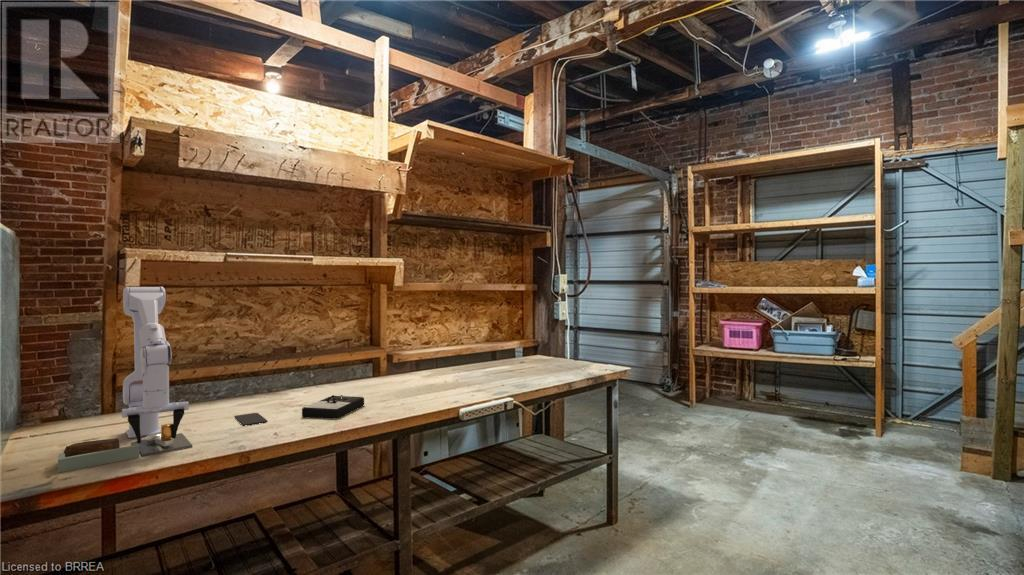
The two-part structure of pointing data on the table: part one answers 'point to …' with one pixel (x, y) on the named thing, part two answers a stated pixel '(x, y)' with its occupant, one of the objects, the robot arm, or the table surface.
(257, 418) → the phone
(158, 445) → the plate
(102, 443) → the brick
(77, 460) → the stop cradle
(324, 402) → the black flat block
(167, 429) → the crank
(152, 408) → the robot arm
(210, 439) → the table surface
